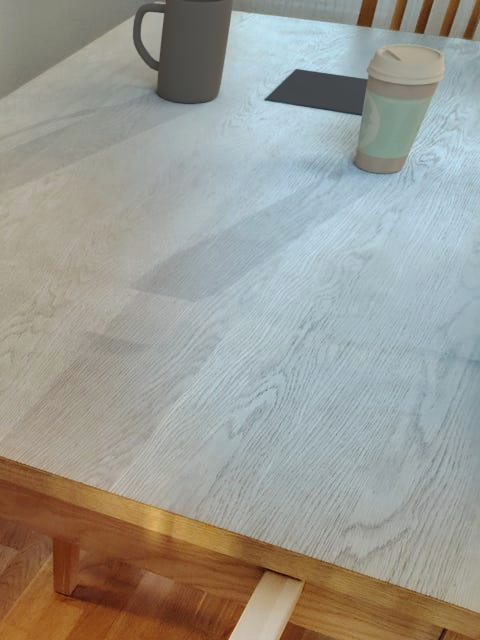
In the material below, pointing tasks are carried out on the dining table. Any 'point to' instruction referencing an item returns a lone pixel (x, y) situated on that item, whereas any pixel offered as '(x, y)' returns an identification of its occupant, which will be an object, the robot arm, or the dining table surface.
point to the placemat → (322, 91)
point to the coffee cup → (396, 104)
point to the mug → (188, 47)
